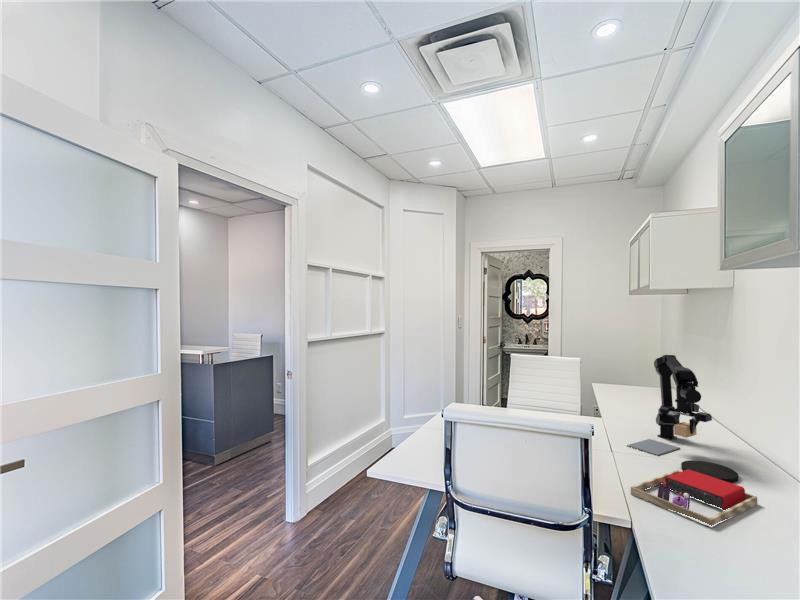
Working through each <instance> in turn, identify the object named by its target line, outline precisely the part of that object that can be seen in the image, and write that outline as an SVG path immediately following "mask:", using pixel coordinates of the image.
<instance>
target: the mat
mask: <svg viewBox="0 0 800 600" xmlns="http://www.w3.org/2000/svg"><path fill="white" fill-rule="evenodd" d="M627 446H629V447H628V448H631V447H632V449H634V448H635V449H634V450H637V449H638V450H637V451H640V450H641V451H640V452H643V451H644V453H646V452H647V454H650V455H653V456H656V455H657V456H656V457H659V455H660V456H662V454H663V455H666V454H668V453H667V452H669V453H671V452H670V451H672V452H675V451H678V450H680V449H681V447H680V446H675V445H672V444H668V443H666V442H661V441H658V440H654V439H651V438H647V439H644V440H640V441H637V442H634V443H630V444H627V445H626V447H627ZM677 449H678V450H677ZM674 450H675V451H674ZM665 453H666V454H665Z"/></svg>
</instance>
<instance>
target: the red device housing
mask: <svg viewBox="0 0 800 600" xmlns="http://www.w3.org/2000/svg"><path fill="white" fill-rule="evenodd" d="M664 485H665V486H669V487H672V488H675V489H678V490H681V491H684V492H687V493H690V496H691V497H694V498H696V499H699V500H702V501H704V502H705V503H708V504H712V505H715V506H717V507H720V508H722V509H723V510H726V509H728V508H731V507H733V506H735V505H737V504H739V503H741V502H743V501H745V493H746V489H745V488H744V486H740V485H739V484H735V483H729V482H726V481H723V480H720V479H717V478H714V477H711V476H708V475H705V474H701V473H698V472H695V471H692V470H689V469H687V470H685V471H683V470H681V472H679V473H677V474H674V475H671V476H668V477H666V478H665V483H664ZM671 490H674V489H671ZM678 492H679V491H678ZM683 494H684V493H683ZM705 503H704V504H705Z"/></svg>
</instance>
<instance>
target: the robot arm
mask: <svg viewBox="0 0 800 600" xmlns="http://www.w3.org/2000/svg"><path fill="white" fill-rule="evenodd" d="M653 366H654V369H655V372H656V374H658V376H659V385H660V399H661V401H660V402H661V405H660V407H659V408H658V411H657V412H658V413H657V415H656V416H655V424H656V425H658V426H659V433H660V434H657V435H656V436H657V437H658V438H663V439H666V440H670V441H671V440H675V439H678V436H677V435H674V424H678V423H681V422H680V417H681V415H682V416H687V417H691V419H689V420H688V421H689V423H690V432H691V434H693V433H694V430H695V428H696V429H697V426H698V424H699V423H700V422H703V423H708V422H711V421H713V416H712V414H711V413H708V412H702V411H699V410H700V405H699V404H696V403H699V402H700V401H701V399H702V394H701V392H700V391H699V390H697V389H696V388H698V387H699V382H698V379H697V377H696V374H695V373H694V372H693V370H692V369H690V368H688V367H685V366H683V365H682V364H681V362H680V361H679V360H678V359H677V356H676V355H674V354H663V355H662V356H660V357H657V358H656V359H655V360H654V361H653ZM671 376H672V378H671ZM672 379H673V381H674V384H675V390H676V391H675V393H676V399H674V402H675V403H676V406H674V405H673V394H672Z"/></svg>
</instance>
